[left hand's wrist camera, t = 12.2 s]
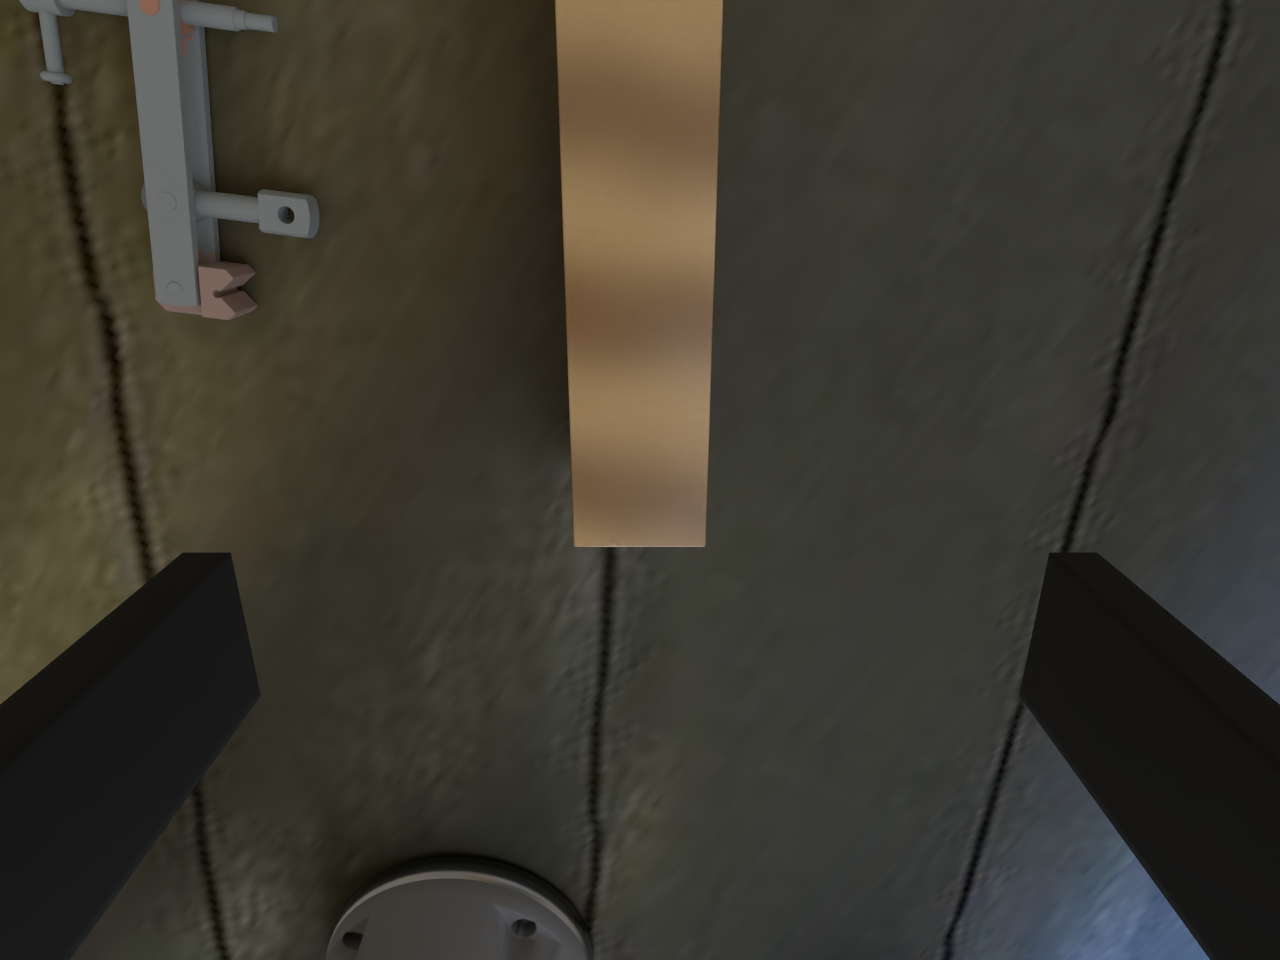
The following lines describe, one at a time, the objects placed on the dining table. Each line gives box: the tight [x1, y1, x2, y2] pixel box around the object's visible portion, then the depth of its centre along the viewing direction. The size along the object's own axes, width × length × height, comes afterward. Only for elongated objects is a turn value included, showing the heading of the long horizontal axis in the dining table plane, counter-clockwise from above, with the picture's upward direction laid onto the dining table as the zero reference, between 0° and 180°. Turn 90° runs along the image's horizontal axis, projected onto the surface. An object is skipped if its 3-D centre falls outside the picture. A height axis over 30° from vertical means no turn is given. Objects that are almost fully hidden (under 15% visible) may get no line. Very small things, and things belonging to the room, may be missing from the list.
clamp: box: [19, 0, 319, 320], centre depth 29 cm, size 15×2×10 cm
